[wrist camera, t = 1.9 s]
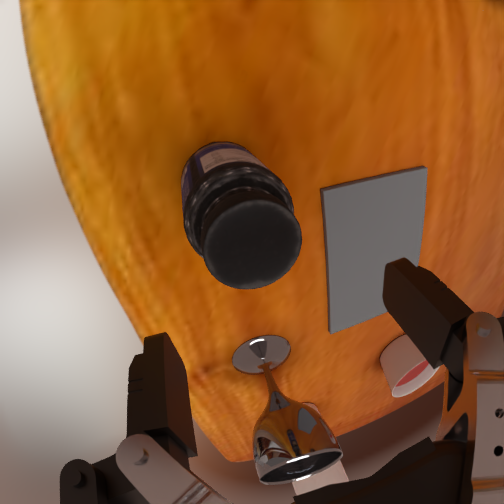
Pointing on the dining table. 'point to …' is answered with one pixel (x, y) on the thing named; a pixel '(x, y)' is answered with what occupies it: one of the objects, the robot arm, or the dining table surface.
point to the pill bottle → (238, 216)
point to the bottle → (321, 475)
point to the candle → (405, 366)
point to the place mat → (369, 239)
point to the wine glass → (284, 421)
